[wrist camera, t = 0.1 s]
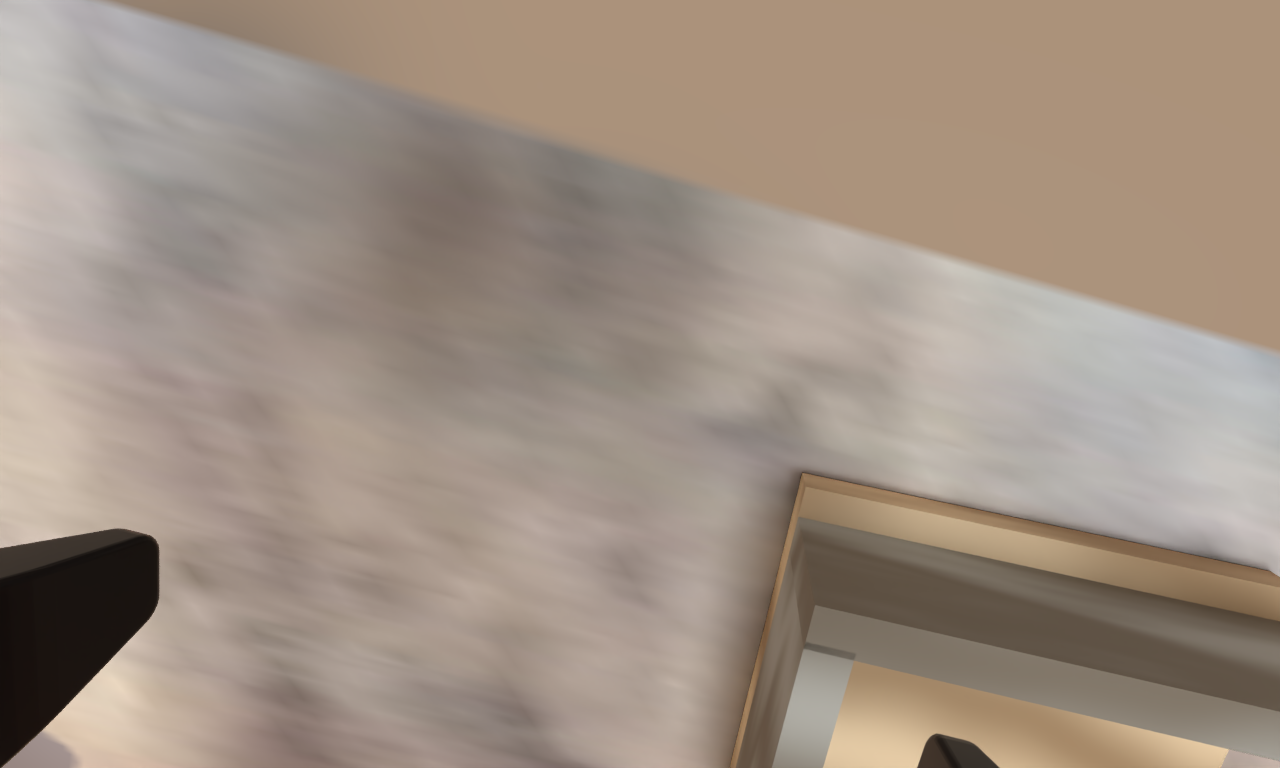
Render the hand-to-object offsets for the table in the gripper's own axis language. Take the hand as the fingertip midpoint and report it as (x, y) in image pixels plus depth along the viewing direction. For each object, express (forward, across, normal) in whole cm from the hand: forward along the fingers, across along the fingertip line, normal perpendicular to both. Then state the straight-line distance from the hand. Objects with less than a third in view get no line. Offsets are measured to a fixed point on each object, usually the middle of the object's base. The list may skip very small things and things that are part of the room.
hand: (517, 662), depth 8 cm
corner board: (+15, -12, +8) cm, 21 cm away
